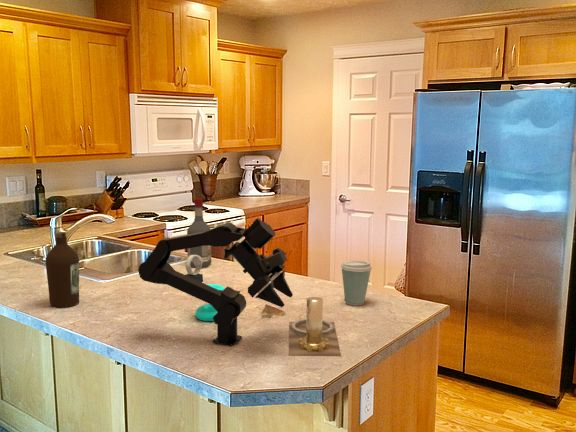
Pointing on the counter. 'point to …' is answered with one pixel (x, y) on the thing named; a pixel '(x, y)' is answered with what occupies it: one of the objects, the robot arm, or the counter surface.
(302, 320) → the carrier plate
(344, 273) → the disposable coffee cup
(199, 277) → the watch
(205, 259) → the liquor
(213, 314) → the turquoise yo-yo shaped spool
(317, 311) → the gold piece
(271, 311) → the shard
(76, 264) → the olive oil
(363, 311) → the counter surface
